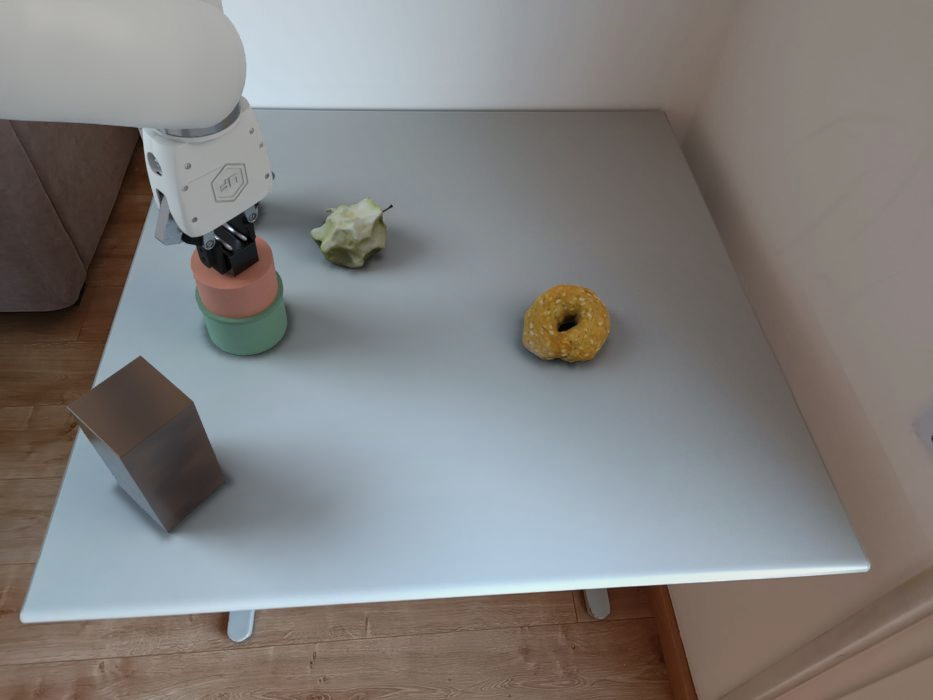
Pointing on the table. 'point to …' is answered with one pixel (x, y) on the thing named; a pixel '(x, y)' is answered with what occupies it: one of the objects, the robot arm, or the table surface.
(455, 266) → the table surface
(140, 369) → the clip stand
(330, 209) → the fruit
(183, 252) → the table surface
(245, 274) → the cup stack
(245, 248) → the clip
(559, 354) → the bagel
